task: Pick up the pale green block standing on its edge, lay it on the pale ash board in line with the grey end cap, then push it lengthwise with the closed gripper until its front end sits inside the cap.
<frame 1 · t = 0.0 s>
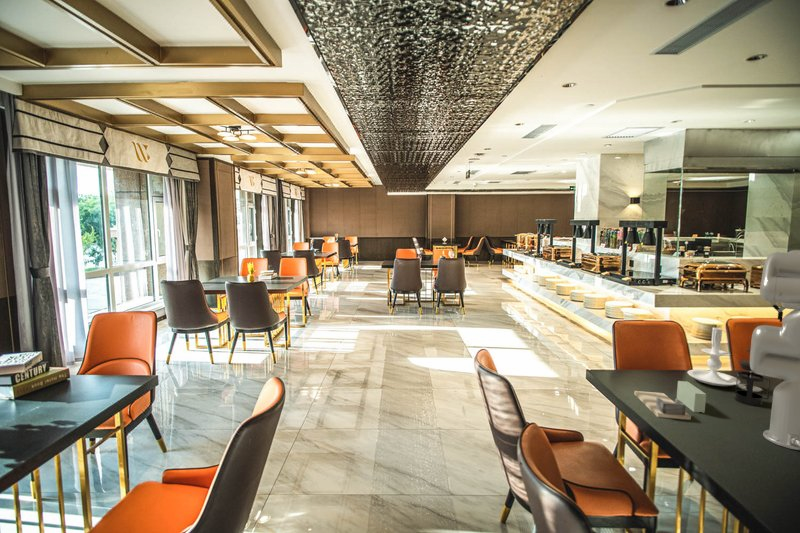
hand: (797, 323, 165), 37 cm above the table, tool pointing down, fingers open, 9 cm apart
candlestick: (712, 382, 202), on the table
french press: (749, 402, 178), on the table
pale green block: (689, 405, 174), on the table
board: (660, 406, 173), on the table
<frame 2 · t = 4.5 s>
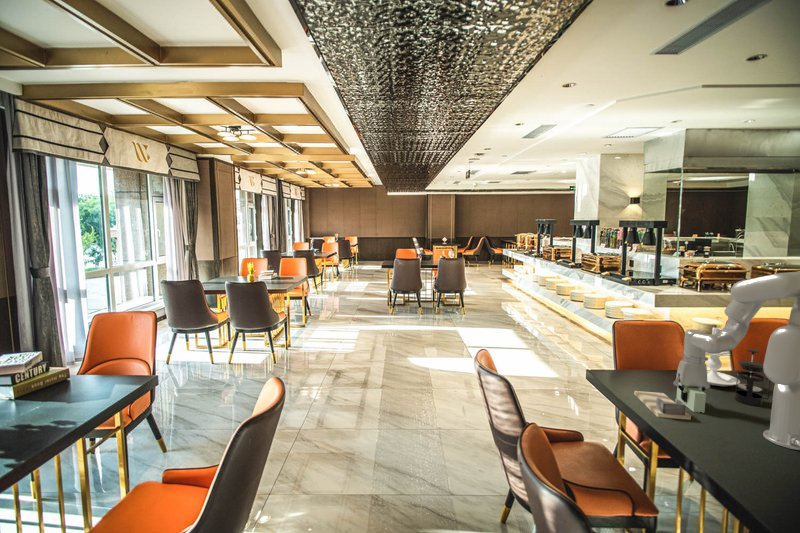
hand: (690, 400, 174), 2 cm above the table, tool pointing down, fingers closed on pale green block, 4 cm apart
pale green block: (689, 405, 174), on the table, touching gripper
everything else where it was.
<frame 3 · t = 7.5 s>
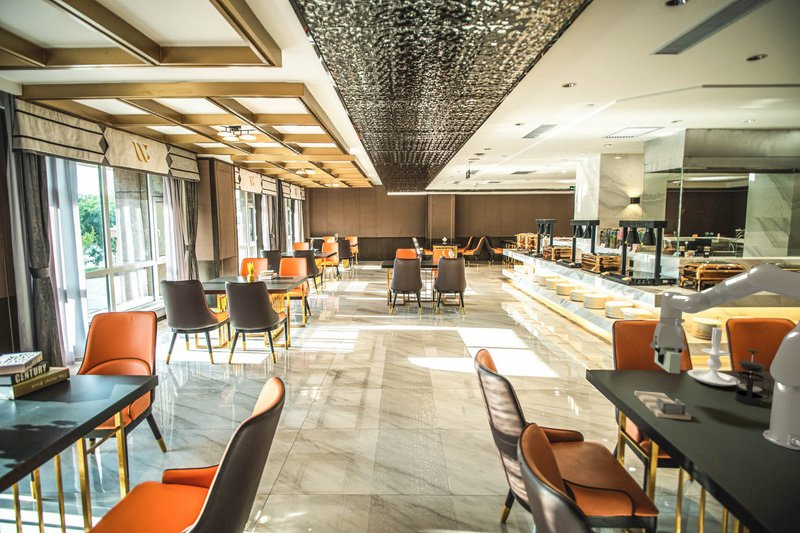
hand: (666, 363, 174), 18 cm above the table, tool pointing down, fingers closed on pale green block, 4 cm apart
pale green block: (666, 367, 174), point 16 cm above the table, touching gripper
everything else where it was.
when the fingers open (4 cm above the table, at t = 10.6 s): pale green block stays where it is, resting on board.
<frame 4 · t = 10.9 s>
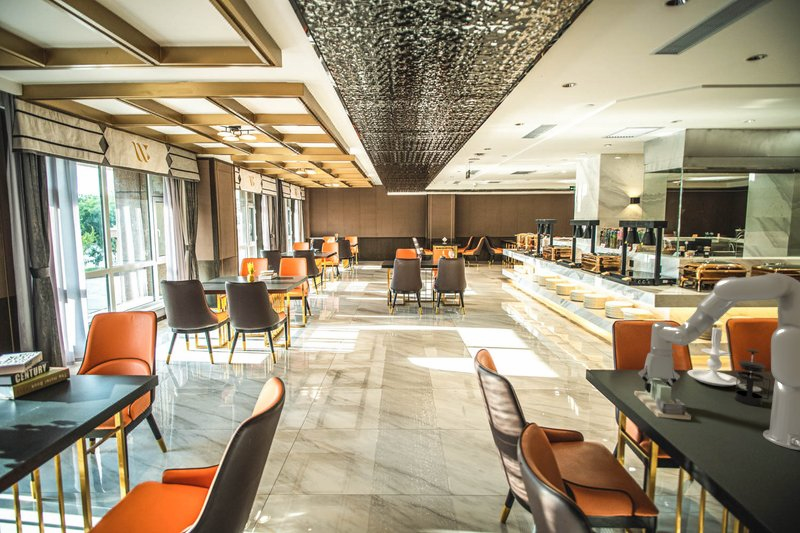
hand: (657, 391, 176), 5 cm above the table, tool pointing down, fingers open, 7 cm apart
pale green block: (657, 399, 176), point 1 cm above the table, touching board
everything else where it was.
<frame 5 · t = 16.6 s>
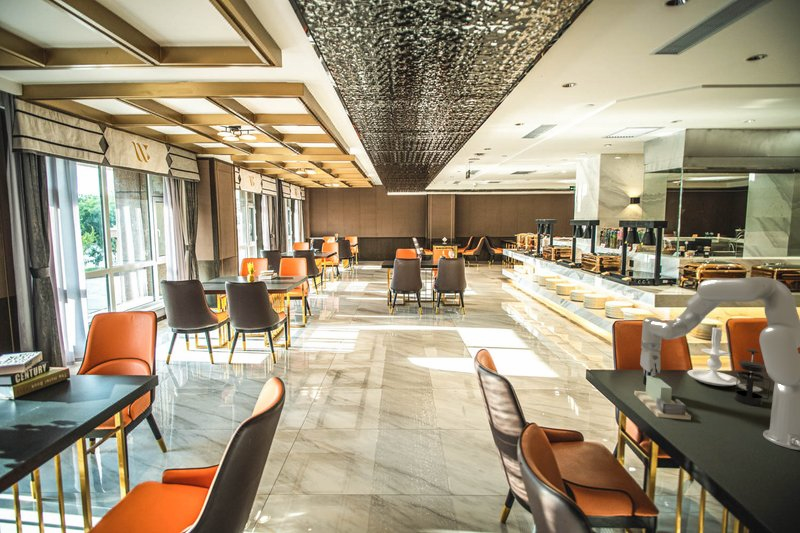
hand: (647, 384, 185), 4 cm above the table, tool pointing down, fingers closed
pale green block: (657, 399, 176), point 2 cm above the table, touching gripper
everything else where it was.
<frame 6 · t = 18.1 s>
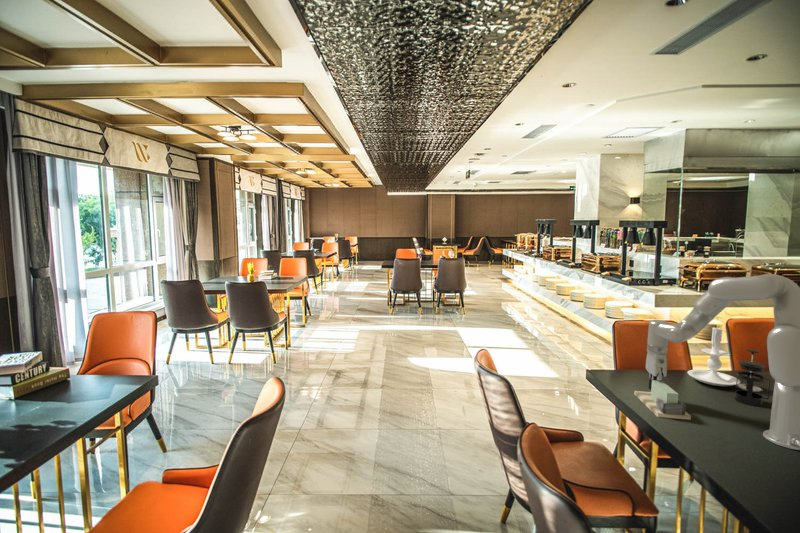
hand: (653, 389, 179), 4 cm above the table, tool pointing down, fingers closed
pale green block: (663, 405, 170), point 2 cm above the table, touching board, gripper
everything else where it was.
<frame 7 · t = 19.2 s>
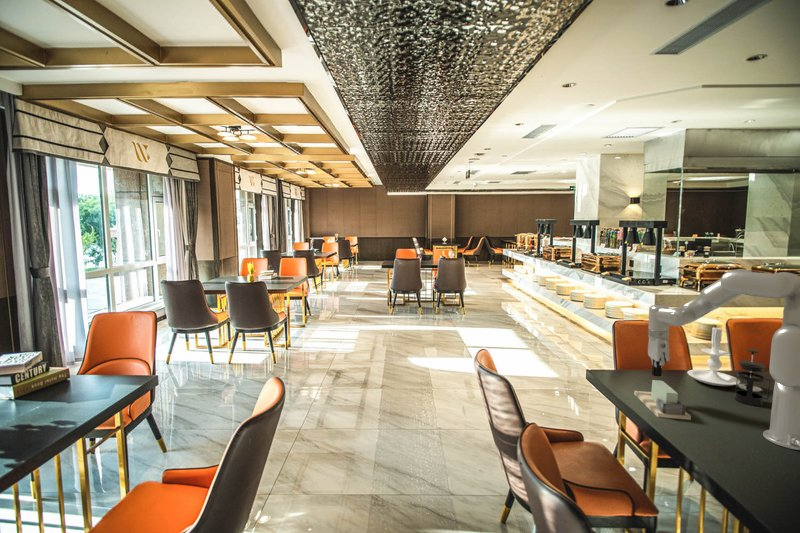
hand: (656, 375, 178), 11 cm above the table, tool pointing down, fingers closed
pale green block: (663, 405, 170), point 1 cm above the table, touching board
everything else where it was.
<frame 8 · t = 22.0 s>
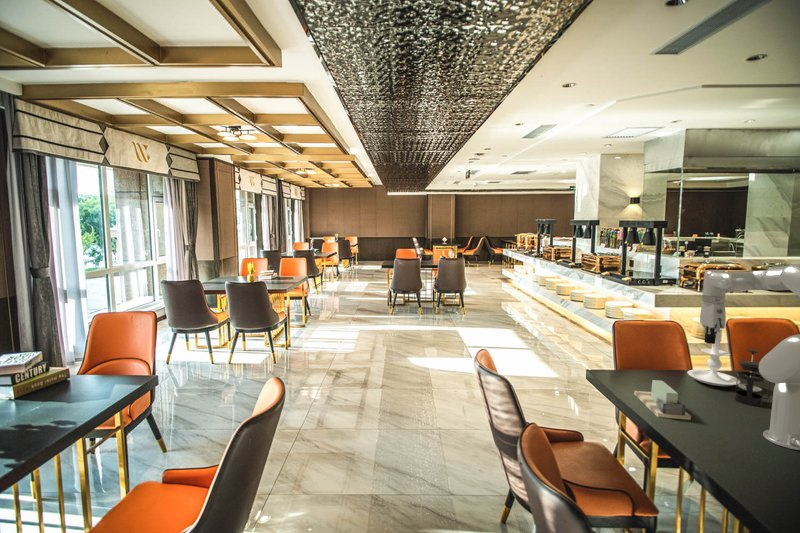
hand: (709, 343, 172), 27 cm above the table, tool pointing down, fingers closed
nothing on the table moved.
at the end: pale green block 1.6 cm from the target spot on the board, point 1.5 cm above the board's base; pale green block tilted 0°; the gripper is holding nothing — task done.
